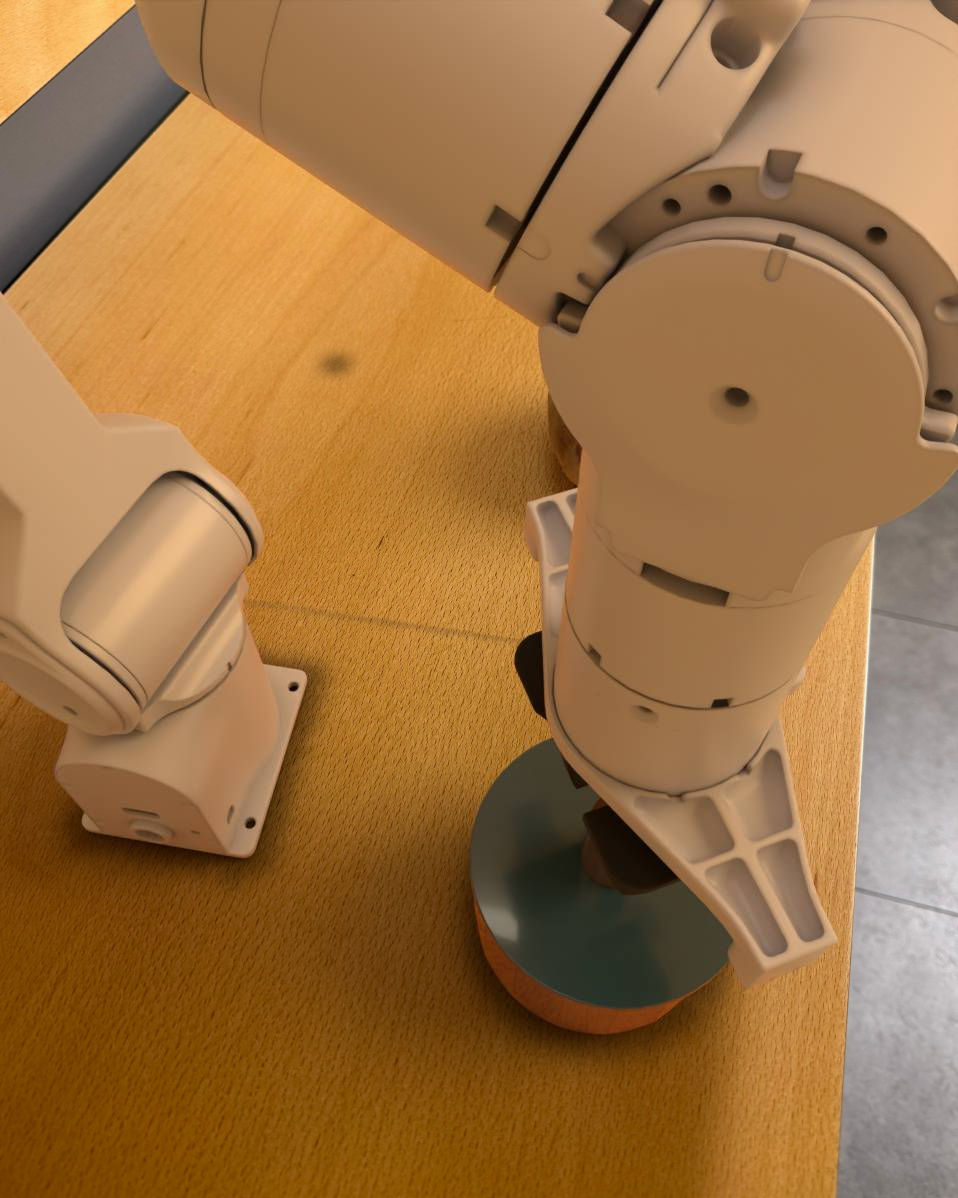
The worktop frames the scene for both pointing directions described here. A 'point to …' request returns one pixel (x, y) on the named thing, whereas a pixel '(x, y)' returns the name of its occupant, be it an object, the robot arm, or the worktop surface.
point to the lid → (580, 899)
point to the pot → (556, 1007)
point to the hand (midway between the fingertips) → (621, 819)
